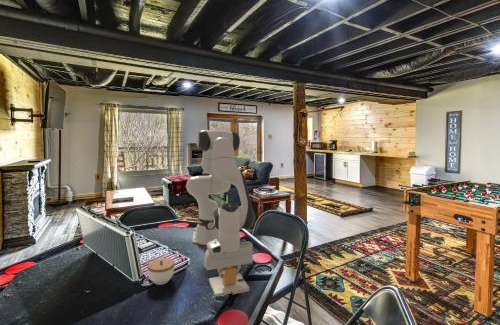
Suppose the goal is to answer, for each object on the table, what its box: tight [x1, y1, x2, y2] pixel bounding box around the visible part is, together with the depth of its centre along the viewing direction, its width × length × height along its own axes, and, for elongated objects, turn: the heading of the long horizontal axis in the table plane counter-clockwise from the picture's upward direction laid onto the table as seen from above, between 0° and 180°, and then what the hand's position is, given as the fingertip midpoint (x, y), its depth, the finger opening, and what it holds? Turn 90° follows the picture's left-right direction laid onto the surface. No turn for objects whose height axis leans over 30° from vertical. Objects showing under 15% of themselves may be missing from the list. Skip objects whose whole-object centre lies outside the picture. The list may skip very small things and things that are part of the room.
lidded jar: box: [147, 257, 175, 286], centre depth 113 cm, size 11×11×9 cm
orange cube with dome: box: [220, 266, 237, 285], centre depth 110 cm, size 5×5×7 cm
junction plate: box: [208, 272, 250, 298], centre depth 111 cm, size 12×14×6 cm
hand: (228, 275), depth 110 cm, fingers closed on orange cube with dome, 5 cm apart
